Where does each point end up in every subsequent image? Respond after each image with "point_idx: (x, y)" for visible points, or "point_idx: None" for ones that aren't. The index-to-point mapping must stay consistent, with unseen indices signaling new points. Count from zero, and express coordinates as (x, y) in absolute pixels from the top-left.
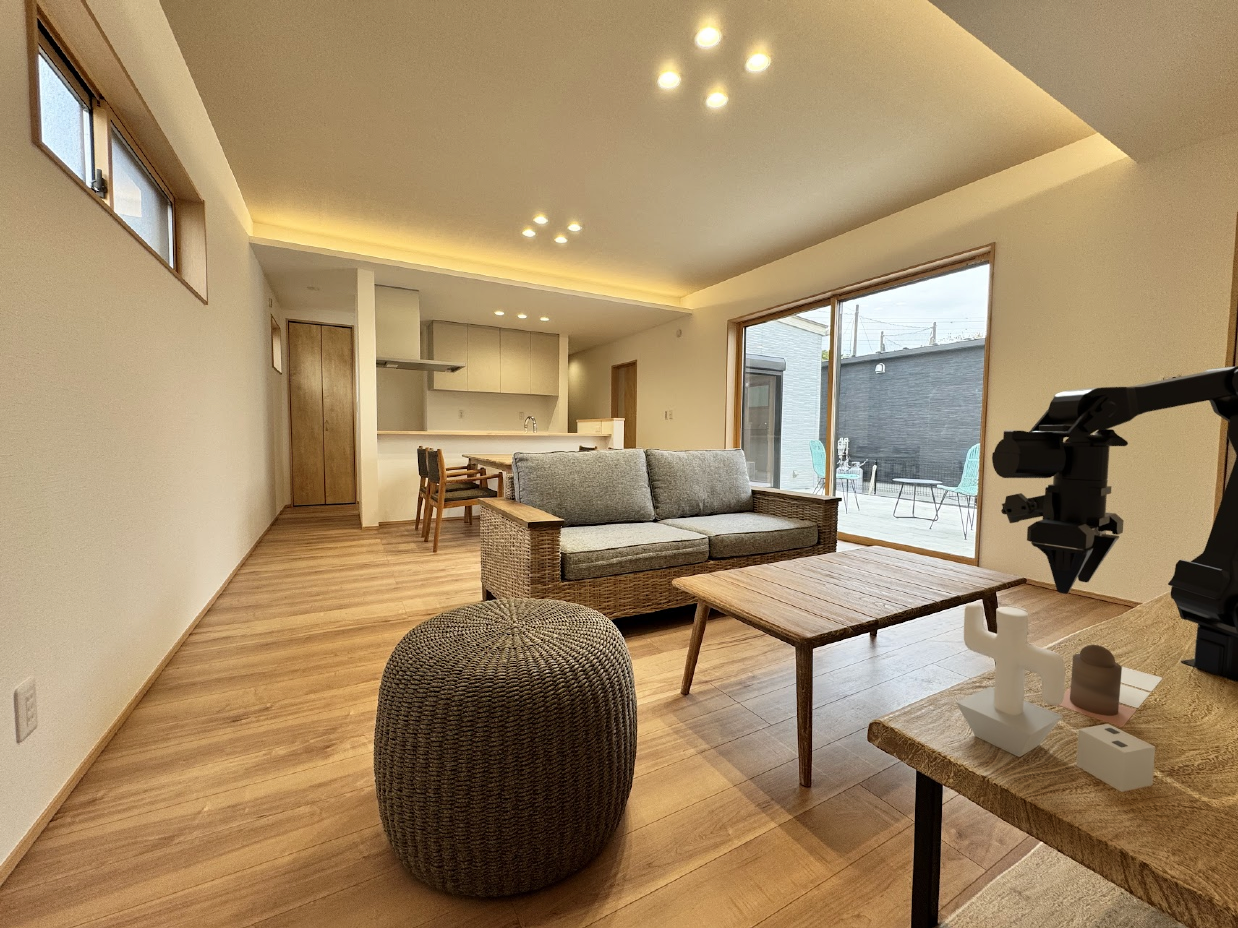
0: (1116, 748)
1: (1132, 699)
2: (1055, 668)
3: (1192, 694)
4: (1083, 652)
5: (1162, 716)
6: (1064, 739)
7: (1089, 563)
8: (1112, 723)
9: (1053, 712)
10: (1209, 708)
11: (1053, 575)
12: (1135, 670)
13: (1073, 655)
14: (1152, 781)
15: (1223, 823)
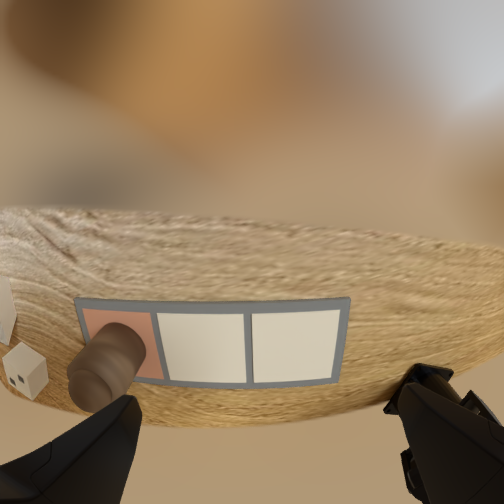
0: (7, 379)
1: (194, 373)
2: None
3: (307, 399)
4: (69, 381)
5: (188, 393)
6: (40, 329)
7: (431, 458)
8: None
9: (5, 338)
10: (270, 415)
11: (74, 429)
12: (333, 352)
13: (81, 361)
14: (47, 383)
15: (53, 406)
